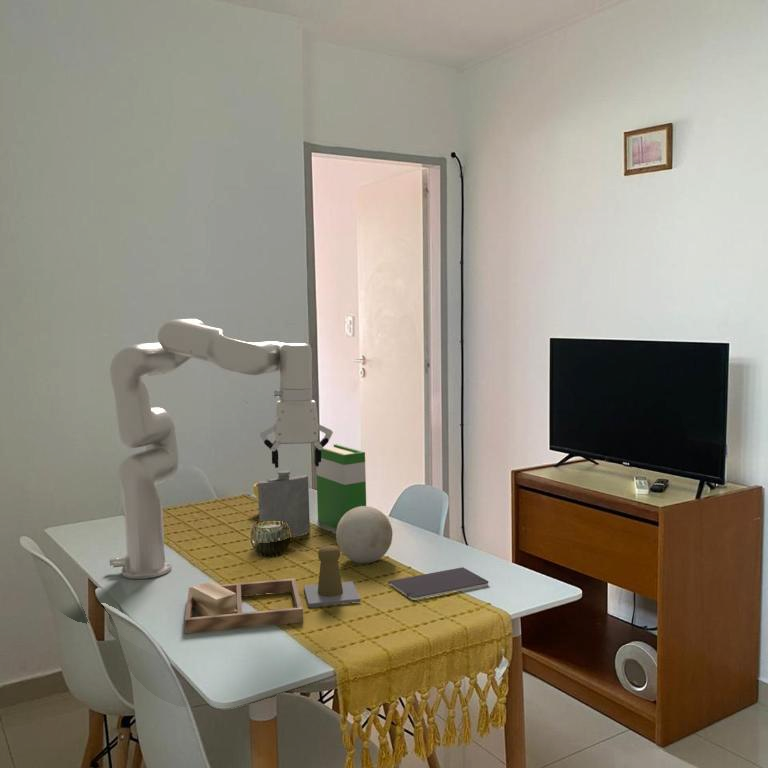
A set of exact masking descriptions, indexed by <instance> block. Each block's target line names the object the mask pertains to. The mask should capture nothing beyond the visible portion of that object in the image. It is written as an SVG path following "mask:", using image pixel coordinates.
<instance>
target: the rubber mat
mask: <svg viewBox="0 0 768 768" xmlns="http://www.w3.org/2000/svg"><path fill="white" fill-rule="evenodd" d="M341 582H342V588H343V593H342V594H340V595H337V596H332V597H326V596H321V595H319V594H318V584H317V583H316V584H307V585H303V592H304V595H305V600H306V599H307V600H306V603H307V606H308V608H309V607H312V608H320V607H319V606H323V607H329V606H328V605H334V606H336V605H335V604H342V603H352V602H361V603H362V601H361V596H360V595H359V593H358V590H357V588H356V586H355V584H354V581H341Z"/></svg>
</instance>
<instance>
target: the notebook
mask: <svg viewBox="0 0 768 768" xmlns="http://www.w3.org/2000/svg"><path fill="white" fill-rule="evenodd" d="M489 582H490V581H488V580H487V579H485V578H483V577H481V576H480V575H478V574H476V573H474V572H472V571H471V570H469V569H467V568H466V567H464V566H463V567H457V568H451V569H446V570H440V571H436V572H430V573H425V574H424V573H423V574H420V575H419V574H418V575H414V576H413V575H412V576H408V577H402V578H398V579H397V578H396V579H392V580H388V585H389V584H391V585H392V586H394V587H395V588H396V589H398V590H399V591H400V592H402V593H403V594H405V595H406V596H407V597H409V598H411V599H414V600H415V599H421V598H426V597H430V596H435V595H440V594H445V593H449V592H453V591H462V592H466V591H472V590H476V589H481V588H486V587H488V585H489ZM392 586H391V587H392ZM395 588H394V589H395ZM396 589H395V590H396ZM398 590H397V591H398ZM399 591H398V592H399ZM400 592H399V593H400ZM402 593H401V594H402ZM403 594H402V595H403ZM405 595H404V596H405ZM406 596H405V597H406ZM407 597H406V598H407ZM409 598H408V599H409Z"/></svg>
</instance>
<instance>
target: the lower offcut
mask: <svg viewBox="0 0 768 768" xmlns="http://www.w3.org/2000/svg"><path fill="white" fill-rule="evenodd" d="M193 609H195V610H196V612H197V613H198V614H199V615H200V617H203V616H213V615H224V614H235V613H237V608H236V607H234V608H231V609H228V610H225V611H221V612H218V613H216V612H215V611H213V610H211V609H209V608H207V607H205V606H204V605H202V604H200V603H198V602H196V601H194V600H193Z"/></svg>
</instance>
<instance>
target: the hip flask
mask: <svg viewBox="0 0 768 768" xmlns="http://www.w3.org/2000/svg"><path fill="white" fill-rule="evenodd" d="M277 475H278V477H275V478H270V479H266V480H260V481H259V480H258V481H257V483H258V502H257V505H258V504H259V506H258V521H259V522H261V521H274V520H278V521H283V522H286V523H287V524H288V526H289V529H290V533H291V537H293V538H295V537H294V536H298V535H302V534H305V533H309V532H310V533H311V524H310V523H311V522H310V520H311V519H310V494H309V489H310V487H309V475H306V474H303V475H301V474H299V475H296V476H290V475H291V471H290V470H286V469H284V470H278V471H277ZM259 522H258V523H259ZM310 533H309V534H310ZM302 536H303V535H302ZM298 537H299V536H298Z"/></svg>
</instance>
